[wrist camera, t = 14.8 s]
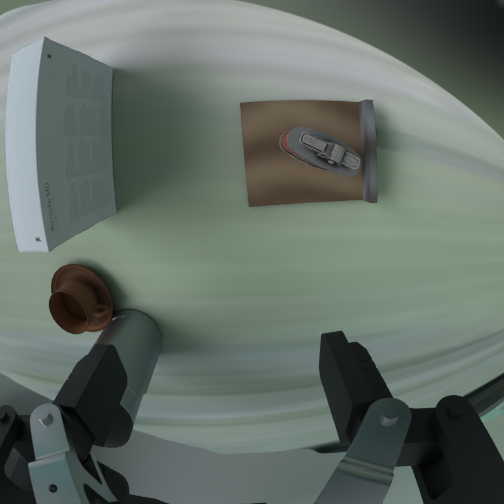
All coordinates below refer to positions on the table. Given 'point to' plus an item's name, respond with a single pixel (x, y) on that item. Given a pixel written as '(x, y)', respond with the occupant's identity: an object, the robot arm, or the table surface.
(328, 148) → the lighter
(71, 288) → the cup and saucer
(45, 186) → the skincare box
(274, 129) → the shelf board
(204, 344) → the table surface
